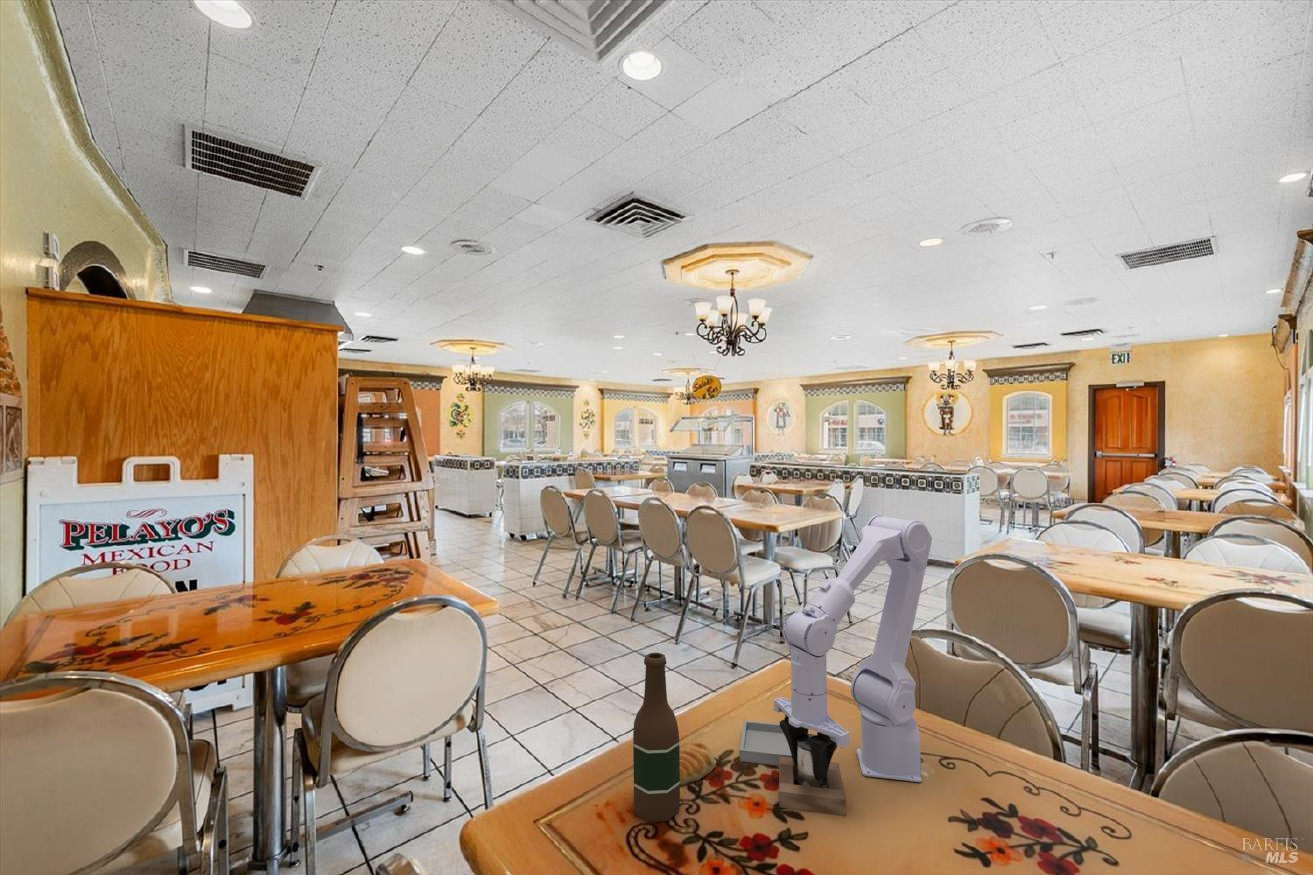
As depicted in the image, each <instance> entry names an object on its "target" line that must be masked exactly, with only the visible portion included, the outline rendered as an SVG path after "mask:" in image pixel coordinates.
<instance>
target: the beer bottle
mask: <svg viewBox="0 0 1313 875" xmlns="http://www.w3.org/2000/svg"><path fill="white" fill-rule="evenodd" d="M643 659H644V660H643V661H644V662H643V664H644V665H645V678H644V695H643V696H644V697H643V701H642V705H641V707H640V708H639V710H638V711H637V713H636V714H635V718H634V721H633V733H632V740H633V741H632V744H633V746H632V747H633V749H632V750H633V752H632V753H633V754H632V755H633V757H632V758H633V759H632V760H633V763H632V764H633V767H632V768H633V806H634V808H633V809H634V813H635V815H636V816H638V817H640V819H643V820H645V821H646V822H648V823H658V822H659V823H660V822H668V821H670V820H671V819H672V818H673V817H674V816H675V815H677V814H678V813H679V811H680V809H681V807H680V806H681V804H680V803H681V785H680V750H681V748H680V746H681V745H680V733H679V725H678V720H677V718H676V714H675V712H674V710H673V708H672V707H671V706H670V705H669V702H668V693H667V682H666V678H667V677H666V665H667V659H666V655H665V654H663V653H661V652H649V653H648V654H645V655H644V658H643Z"/></svg>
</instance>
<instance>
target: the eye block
mask: <svg viewBox="0 0 1313 875" xmlns="http://www.w3.org/2000/svg"><path fill="white" fill-rule="evenodd" d="M841 772H842V771H841V768H840V762H835V761H831V762H830V765H829V769H828V773H827V777H826V778H824V779H823V785H824V784H825V785H826V788H825V787H823V788H818V787H810V786H802V785H798V784H794V781H798V767H796V766H795V765H794V763H793V759H792V758H790V757H781V756H779V766H778V774H779V775H778V776H779V777H778V778H779V779H778V801H779V802H778V803H779V804H778V805H779V808H783V809H791V810H797V811H798V810H799V811H805V812H806V811H807V812H814V813H818V814H819V813H821V814H828V815H837V816H843V817H846V815H847V814H846V812H847V808H846V807H847V804H846V803H847V802H846V800H847V799H846V794H845V790H844V784H843V779H842V773H841Z"/></svg>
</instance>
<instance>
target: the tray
mask: <svg viewBox="0 0 1313 875" xmlns="http://www.w3.org/2000/svg"><path fill="white" fill-rule="evenodd" d="M740 737H741V739H740V745H739V746H740V747H739V762H744V763H752V764H761V765H771V766H778V767H779V756H781V757H790V758H792V755H791V751H790V748H789V745H788V742H787V739H786V737H785V735H784V733H783V731H782V729H781V728H780V723H774V722H764V721H757V720H756V721H753V720H743V722H742V731H741V736H740Z"/></svg>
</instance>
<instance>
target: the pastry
mask: <svg viewBox="0 0 1313 875" xmlns="http://www.w3.org/2000/svg"><path fill="white" fill-rule="evenodd" d="M714 757H715V756H714V754H713V753H712V752H711V749H710V747H709V746H708V745H707V744H705V743H703V742H702V741H697V742H695V741H692V742H691V743H689V744H688V745H687V746H685V747H682V748H680V786H685V785H687V784H690V783H693V782H697V781H700V780H701V778H704V777H705V776H707V775H708V774H710V773H711V772H712V771H713V770H714V768H715V767H716V766H717V761H716V759H715V758H714Z"/></svg>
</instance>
